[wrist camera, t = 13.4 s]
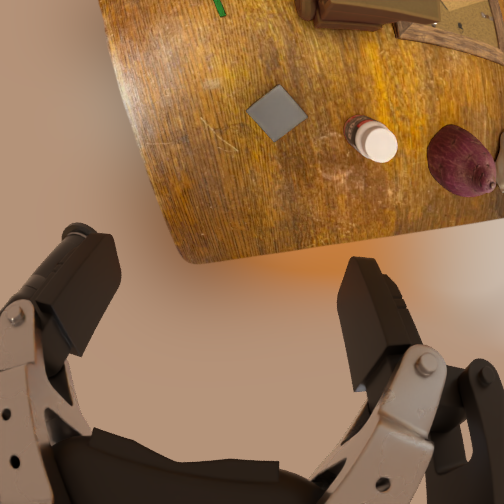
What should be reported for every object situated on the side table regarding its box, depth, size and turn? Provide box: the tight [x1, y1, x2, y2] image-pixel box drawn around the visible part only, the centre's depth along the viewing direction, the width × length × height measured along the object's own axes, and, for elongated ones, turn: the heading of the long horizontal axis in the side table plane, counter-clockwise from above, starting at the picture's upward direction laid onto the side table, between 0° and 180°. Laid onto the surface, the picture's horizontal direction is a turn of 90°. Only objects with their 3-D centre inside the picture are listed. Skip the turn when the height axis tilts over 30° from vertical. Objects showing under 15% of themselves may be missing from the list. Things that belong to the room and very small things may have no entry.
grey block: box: [246, 84, 308, 142], centre depth 30 cm, size 5×5×5 cm
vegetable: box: [427, 125, 496, 197], centre depth 28 cm, size 10×10×15 cm
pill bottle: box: [344, 115, 397, 163], centre depth 29 cm, size 5×5×8 cm
